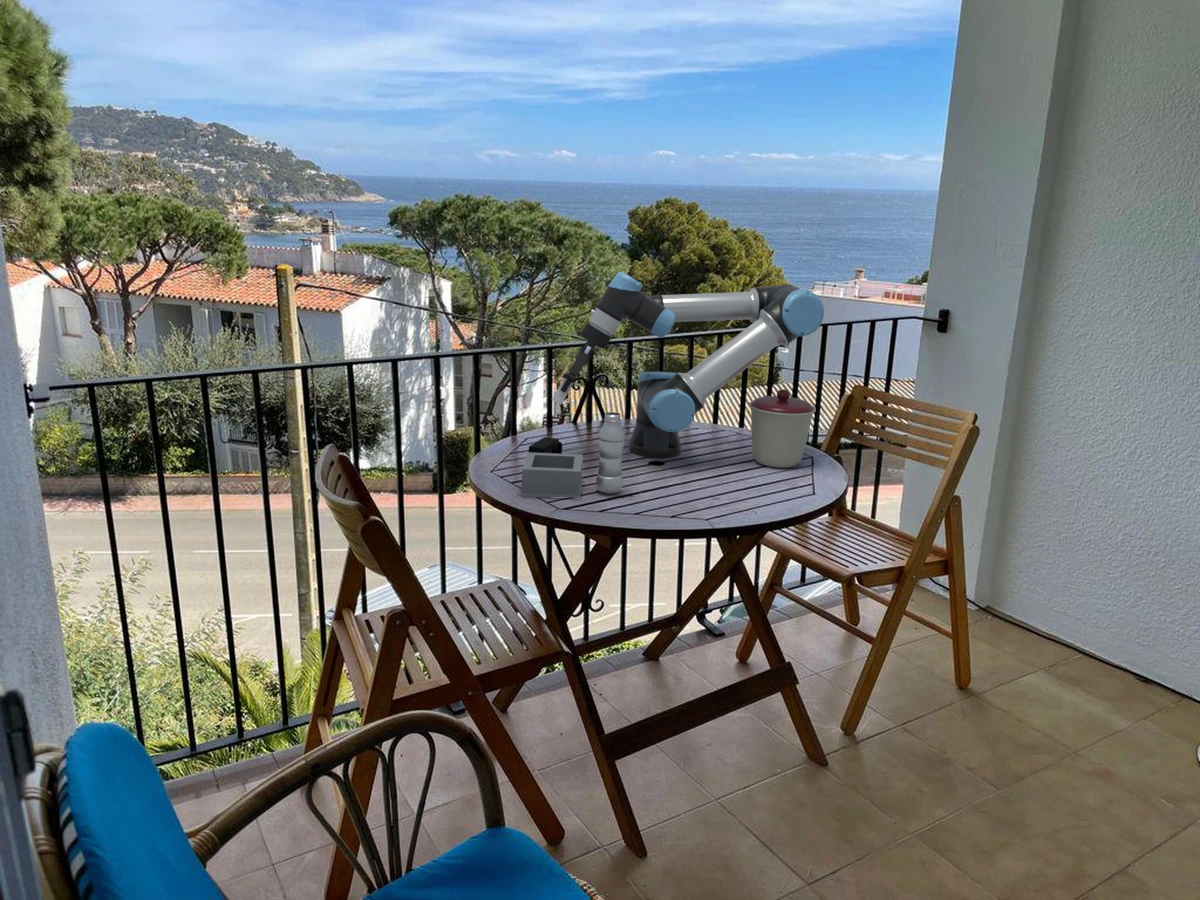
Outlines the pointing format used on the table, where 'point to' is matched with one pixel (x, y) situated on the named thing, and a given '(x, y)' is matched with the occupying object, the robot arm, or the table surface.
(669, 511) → the table surface
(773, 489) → the table surface
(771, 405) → the canister
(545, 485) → the well
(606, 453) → the plastic bottle
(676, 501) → the table surface
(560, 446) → the digital camera
